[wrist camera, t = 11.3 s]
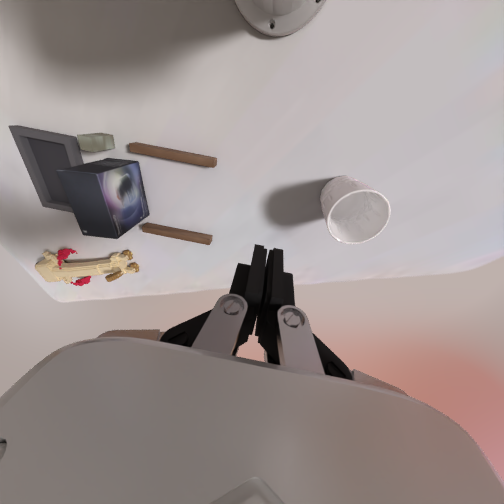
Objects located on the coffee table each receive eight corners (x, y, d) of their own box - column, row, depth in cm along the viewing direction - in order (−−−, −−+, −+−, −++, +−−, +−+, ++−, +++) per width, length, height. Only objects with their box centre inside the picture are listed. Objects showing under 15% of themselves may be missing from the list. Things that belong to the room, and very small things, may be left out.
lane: (101, 132, 35) (77, 135, 31) (217, 155, 35) (208, 160, 31) (120, 223, 44) (104, 234, 40) (211, 241, 44) (204, 254, 40)
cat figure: (128, 238, 48) (33, 248, 51) (105, 259, 41) (-6, 270, 43) (146, 272, 54) (59, 280, 56) (128, 296, 46) (28, 304, 49)
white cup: (337, 162, 33) (355, 177, 25) (375, 186, 35) (405, 209, 26) (307, 203, 37) (315, 228, 29) (342, 223, 39) (359, 253, 30)
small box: (152, 215, 43) (119, 241, 34) (122, 212, 43) (81, 236, 34) (140, 160, 37) (96, 174, 28) (105, 157, 37) (52, 169, 28)
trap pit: (17, 125, 36) (8, 125, 35) (76, 136, 36) (68, 137, 35) (49, 204, 44) (42, 206, 43) (97, 213, 44) (92, 216, 43)
